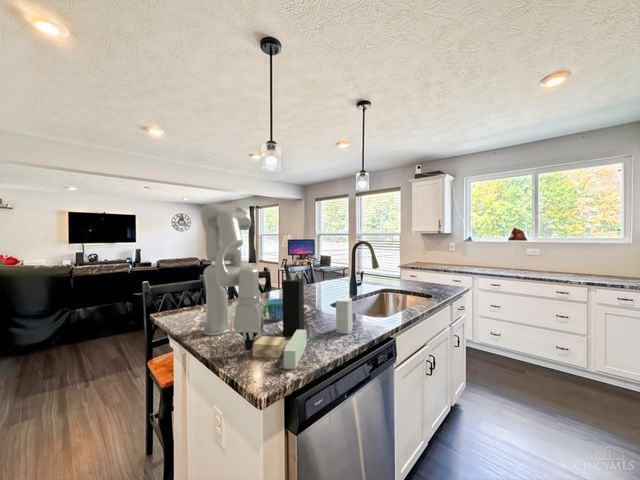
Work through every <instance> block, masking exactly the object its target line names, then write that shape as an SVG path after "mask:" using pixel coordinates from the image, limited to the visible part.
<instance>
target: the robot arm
mask: <svg viewBox="0 0 640 480" xmlns="http://www.w3.org/2000/svg"><path fill="white" fill-rule="evenodd" d="M200 219H201V224H202V226H203V228H204V233H205V253H206V259H207V261H210V262H214V264H211V265H208V266H207V267H205V268H204V270H203V280H204V285H205V301H206V303H205V304H206V305H205V307H206V309H205V310H206V313H205V314H206V315H205V316H206V317H205V318H206V321H200V322H199V325H198V327H200V328H202V327H203V330H202V334H204V335H206V336H220V335H224V334H228V333H229V332H230V331H232V326H231V325H230V324H229V314H228V312H229V308H228V307H229V306H228V305H229V303H228V302H229V301H228V299H229V298H228V291H227V290H226V288H231V287H238V289H237V291H238V292H237V293H238V296H237V297H235V299H234V302H237V304H236V307H235V309H234V310H235V311H234V317H233V318H234V319H233V320H234V323H233V329H234V332H235V334H237V335H240V336H241V337H242V339H243V340H244V348H245V351H251V350H253V343H254V342H255V337H257V336H261V335H263V333H264V329H263V328H264V317H263V316H264V315H263V308H262V305H261V303H260V289H259V288H260V284H259V283H260V282H259V281H260V280H259V278H260V277H259V275H260V274H259V270H258V269H257V268H255V267H254V268H253V267H251V266H247V265H245V266H243V264H242V263H243V261H242V250H241V248H242V246H243V245H244V239H243V236H242V232H241V231H247V230H249V229H250V228H251V226H252V219H251V216H250V214H249V213H248V211H246V210H245V209H243V208H241V207H240V206H238V205H232V204H223V203H222V204H220V203H208V204H205V205H203V206H202V208H201V210H200ZM225 262H229V263H225Z"/></svg>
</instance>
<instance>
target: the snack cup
mask: <svg viewBox="0 0 640 480" xmlns="http://www.w3.org/2000/svg"><path fill="white" fill-rule="evenodd" d="M265 303H266V304H265V305H264V307H263V309H262V314H263V316H264V317H265V318H266V317H267V316H268V318H269V320H270V321H271V322H281V321H283V298H273V299H269V300H267V301H266V302H265ZM267 313H268V315H267Z"/></svg>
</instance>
